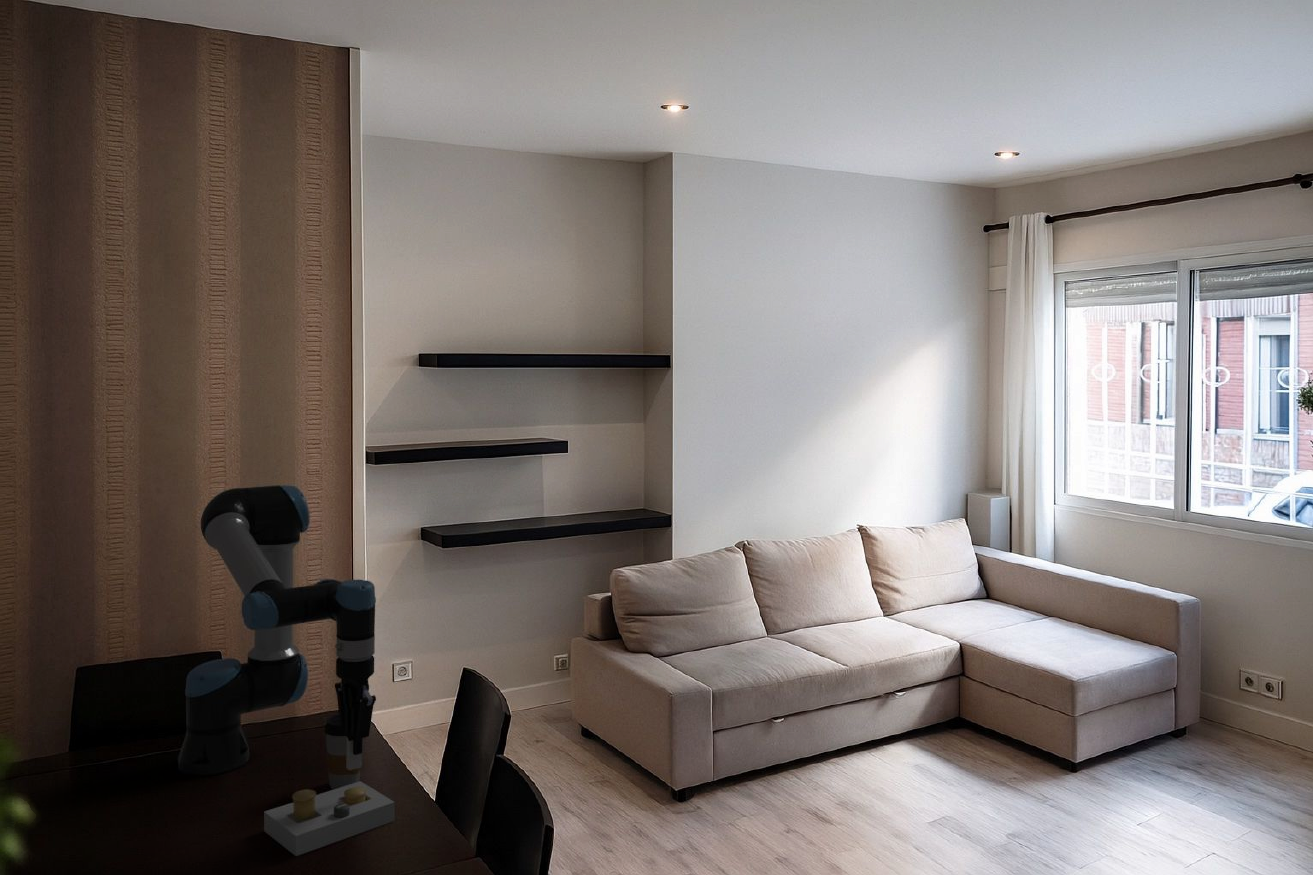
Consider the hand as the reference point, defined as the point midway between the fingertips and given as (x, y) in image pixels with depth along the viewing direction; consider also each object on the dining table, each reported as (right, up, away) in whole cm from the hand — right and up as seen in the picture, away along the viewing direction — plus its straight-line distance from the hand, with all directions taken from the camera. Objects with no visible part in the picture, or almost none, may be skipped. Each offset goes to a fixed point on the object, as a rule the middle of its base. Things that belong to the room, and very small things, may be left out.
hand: (354, 767), depth 196 cm
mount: (-4, -11, -4) cm, 12 cm away
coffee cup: (-7, -10, +16) cm, 20 cm away
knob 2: (0, -9, 0) cm, 9 cm away
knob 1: (-7, -7, -8) cm, 13 cm away
